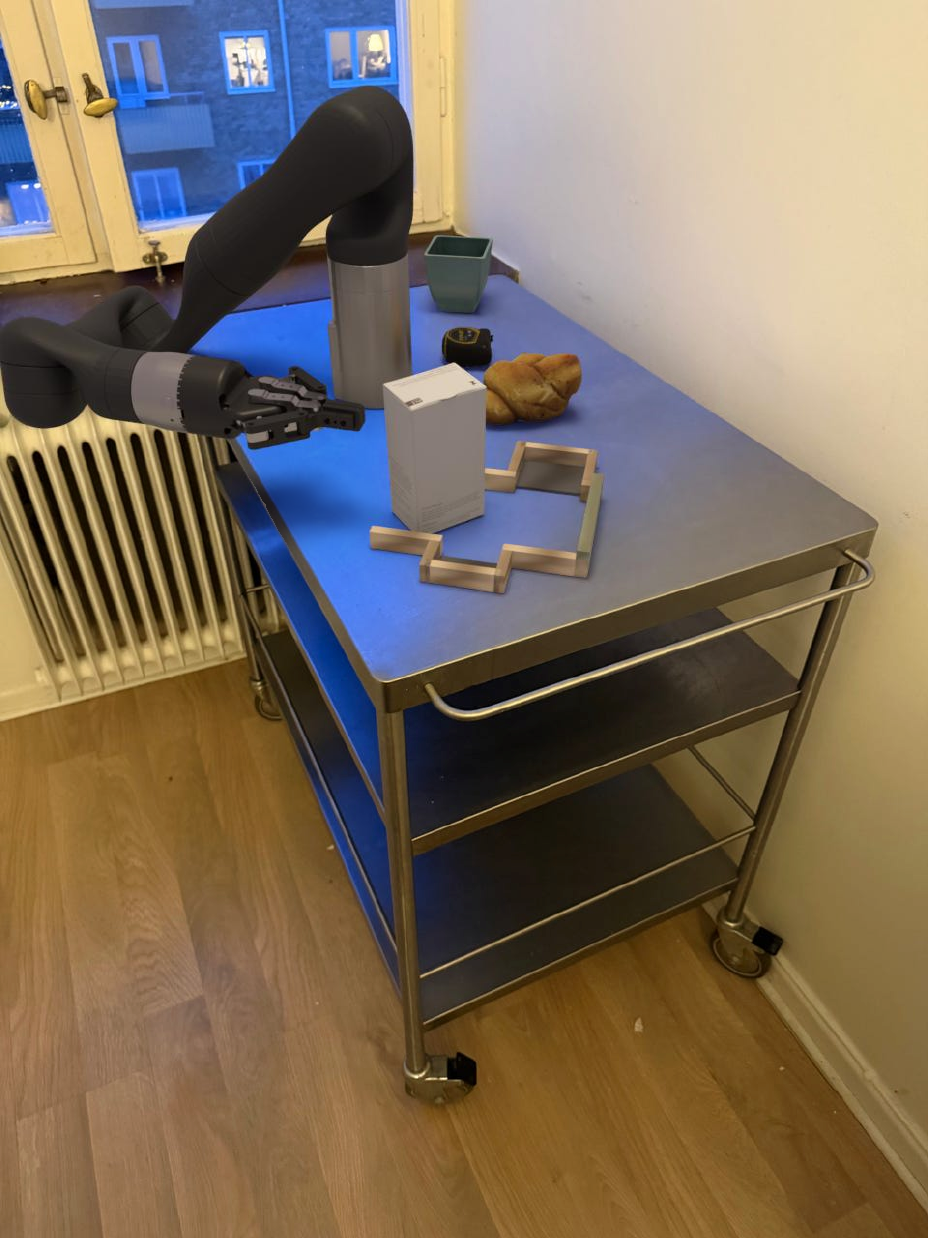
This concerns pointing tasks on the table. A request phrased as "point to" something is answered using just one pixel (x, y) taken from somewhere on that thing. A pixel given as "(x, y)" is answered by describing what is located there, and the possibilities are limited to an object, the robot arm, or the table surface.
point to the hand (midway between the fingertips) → (362, 418)
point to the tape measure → (467, 346)
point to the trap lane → (526, 471)
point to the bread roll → (530, 387)
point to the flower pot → (458, 271)
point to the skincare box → (436, 447)
